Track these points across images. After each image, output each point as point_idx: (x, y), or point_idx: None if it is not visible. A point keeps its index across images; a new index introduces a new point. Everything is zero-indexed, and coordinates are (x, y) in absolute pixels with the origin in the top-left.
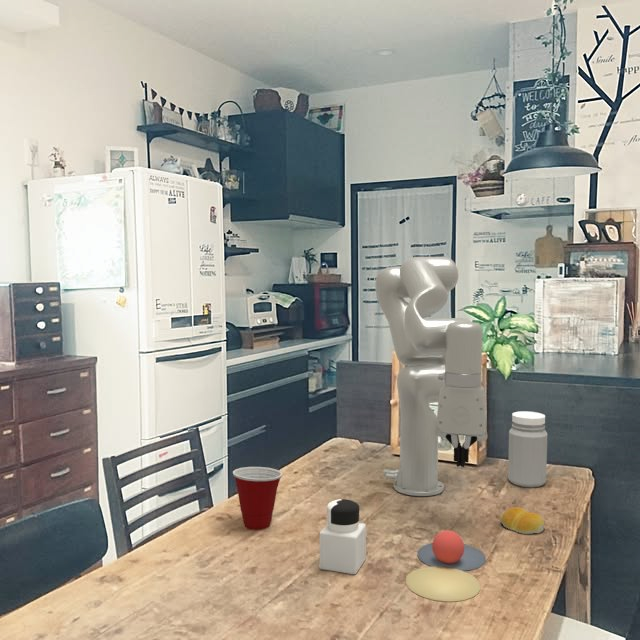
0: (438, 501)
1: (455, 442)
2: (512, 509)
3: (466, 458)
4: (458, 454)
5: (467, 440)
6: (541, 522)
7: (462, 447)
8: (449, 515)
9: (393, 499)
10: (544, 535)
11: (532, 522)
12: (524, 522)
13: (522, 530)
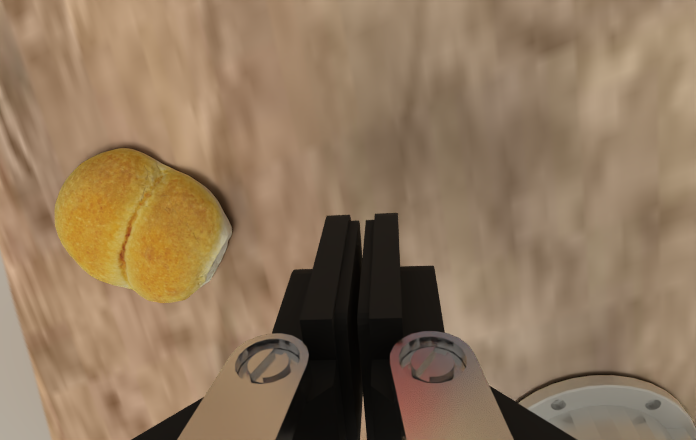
0: (499, 354)
1: (430, 391)
2: (164, 250)
3: (302, 284)
4: (378, 271)
5: (231, 432)
6: (55, 208)
7: (333, 362)
8: (439, 236)
9: (689, 325)
10: (57, 164)
11: (75, 182)
12: (105, 174)
13: (122, 148)
